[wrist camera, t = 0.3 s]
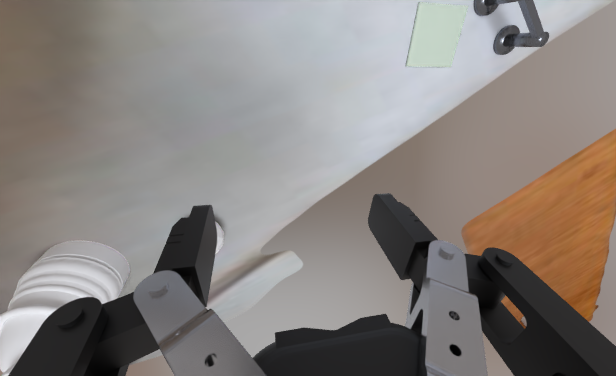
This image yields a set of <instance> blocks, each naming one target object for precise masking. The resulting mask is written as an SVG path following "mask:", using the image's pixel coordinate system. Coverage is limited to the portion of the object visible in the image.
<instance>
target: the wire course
mask: <svg viewBox="0 0 616 376" xmlns="http://www.w3.org/2000/svg"><path fill="white" fill-rule="evenodd" d="M516 1H518V3H519V5H520V8H521V11H522V13H523V16H524V18H525V21H526V24H527V26H528V29H529V32H530V33H520V31H519V28H518V27H517V26H515V25H511V26H506V27H504V28H503V29H502V30H501V31H500V32H499V33H498V34H497V36H496V38H495V41H494V51H495V53H497V54H500V55H504V54H507V53H509V52H510V51H512V50H513V49H514V47H542V46H543V45H545V44H546V42H547V41H548V38H549V33H548V32H544V31H543V28H542V25H541V22H540V19H539V16H538V13H537V10H536V7H535V5H534V2H533V0H474V10H475V12H476V13H477V14H478V15H480V16H484V15H489V14H491V13H492V12H493V11H494V10H495V9H496V8H497V7H498V5H499V4H504V3H510V2H516Z"/></svg>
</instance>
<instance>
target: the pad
mask: <svg viewBox="0 0 616 376" xmlns="http://www.w3.org/2000/svg"><path fill="white" fill-rule="evenodd" d="M467 9H468V6H462V5H449V4H436V3H423V2H419V3H418V8H417V13H416V17H415V22H414V27H413V32H412V37H411V42H410V47H409V52H408V57H407V62H406V66H408V67H451V65H452V61H453V58H454V54H455V51H456V47H457V44H458V40H459V37H460V33H461V30H462V26H463V23H464V19H465V16H466V12H467Z"/></svg>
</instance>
